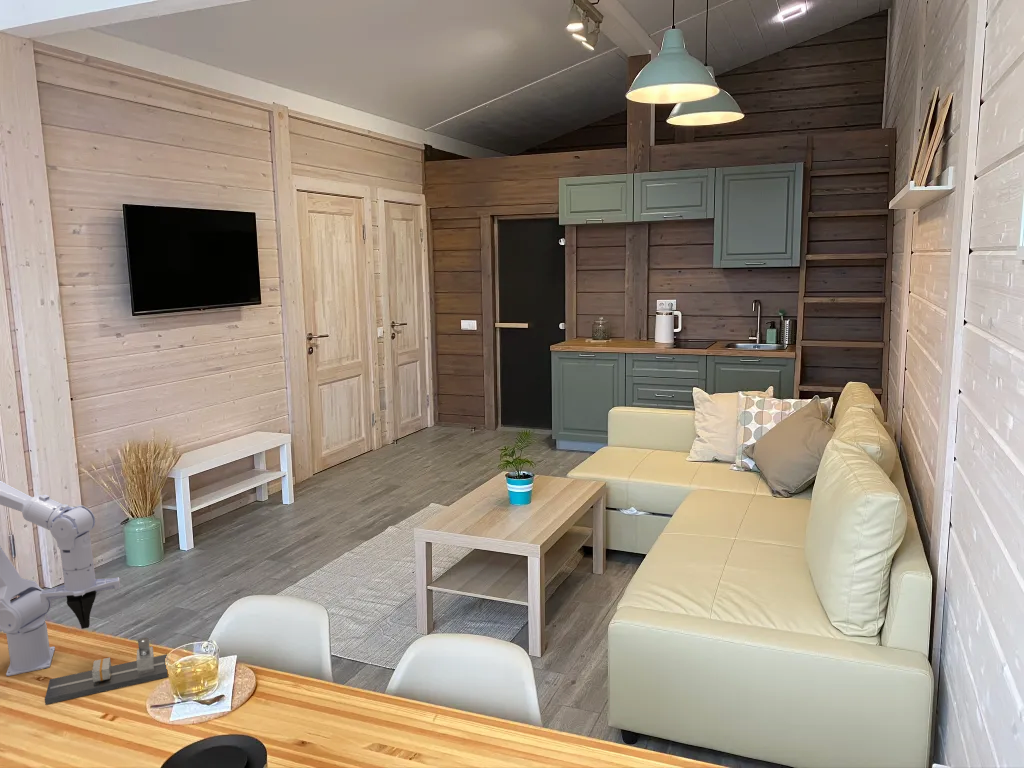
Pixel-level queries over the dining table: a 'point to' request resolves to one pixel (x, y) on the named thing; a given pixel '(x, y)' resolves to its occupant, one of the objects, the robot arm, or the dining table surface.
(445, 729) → the dining table surface
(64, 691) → the plate
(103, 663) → the block
